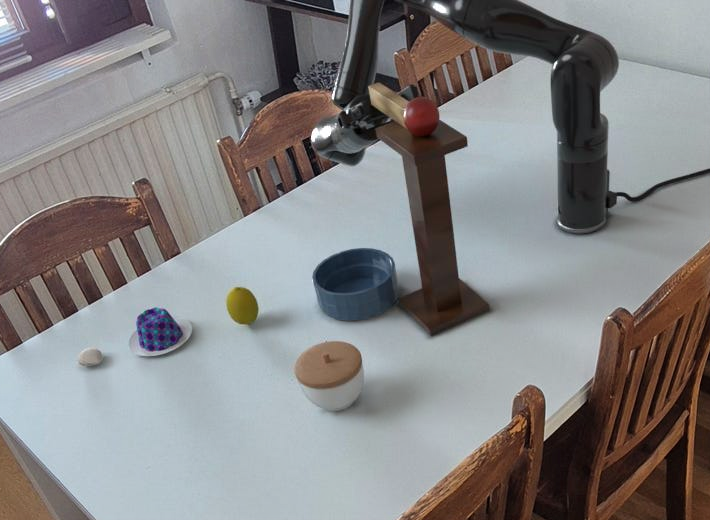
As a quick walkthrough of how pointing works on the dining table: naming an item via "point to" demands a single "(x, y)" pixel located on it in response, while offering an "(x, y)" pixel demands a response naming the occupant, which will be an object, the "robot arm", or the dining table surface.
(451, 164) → the dining table surface
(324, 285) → the bowl
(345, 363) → the trinket box
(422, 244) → the plant stand
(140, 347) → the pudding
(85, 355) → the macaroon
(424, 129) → the mallet
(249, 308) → the lemon
